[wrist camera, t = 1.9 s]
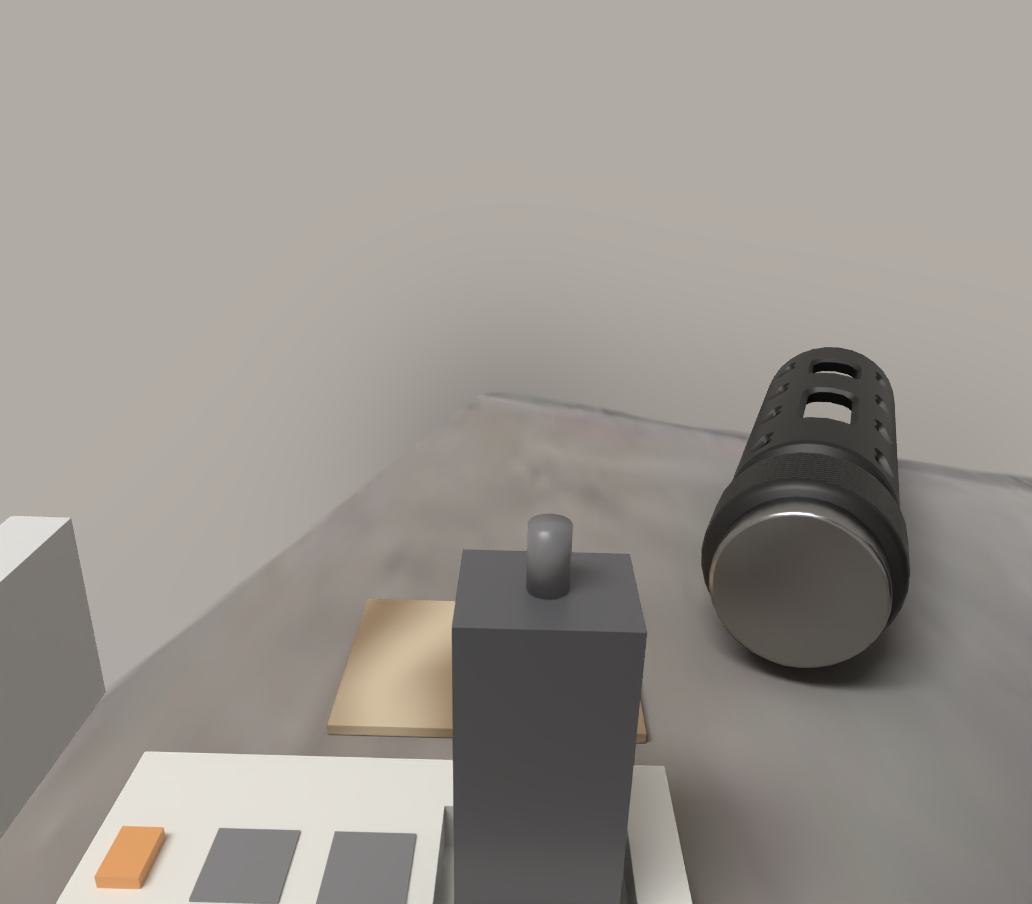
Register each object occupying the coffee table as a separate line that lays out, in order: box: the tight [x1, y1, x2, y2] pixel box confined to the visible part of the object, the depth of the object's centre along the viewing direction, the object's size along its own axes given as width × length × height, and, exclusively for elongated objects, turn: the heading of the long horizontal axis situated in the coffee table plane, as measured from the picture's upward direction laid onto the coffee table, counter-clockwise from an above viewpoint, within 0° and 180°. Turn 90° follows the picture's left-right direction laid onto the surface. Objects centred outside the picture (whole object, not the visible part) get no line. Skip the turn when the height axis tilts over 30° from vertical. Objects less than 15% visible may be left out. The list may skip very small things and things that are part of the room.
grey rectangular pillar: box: [452, 514, 647, 904], centre depth 25 cm, size 5×4×15 cm
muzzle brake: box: [701, 347, 910, 668], centre depth 50 cm, size 10×28×10 cm, turn 158°
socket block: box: [56, 752, 692, 904], centre depth 28 cm, size 20×10×3 cm, turn 89°
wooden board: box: [327, 599, 647, 743], centre depth 41 cm, size 14×10×1 cm
